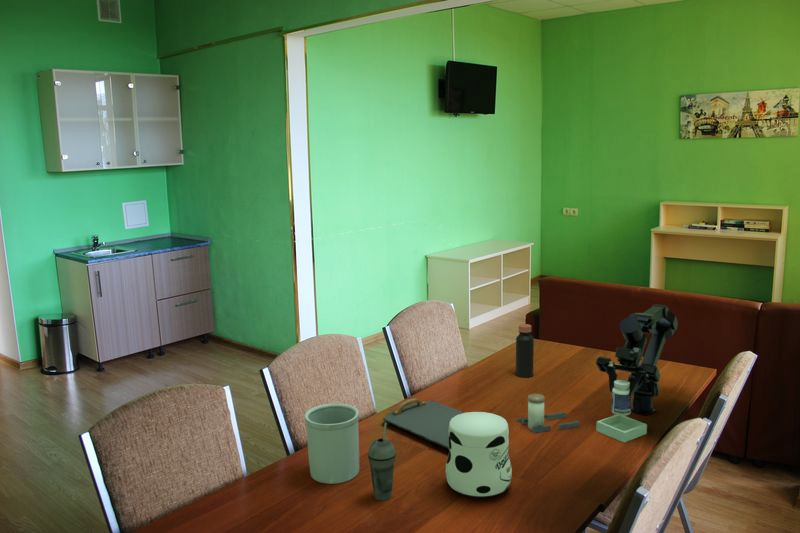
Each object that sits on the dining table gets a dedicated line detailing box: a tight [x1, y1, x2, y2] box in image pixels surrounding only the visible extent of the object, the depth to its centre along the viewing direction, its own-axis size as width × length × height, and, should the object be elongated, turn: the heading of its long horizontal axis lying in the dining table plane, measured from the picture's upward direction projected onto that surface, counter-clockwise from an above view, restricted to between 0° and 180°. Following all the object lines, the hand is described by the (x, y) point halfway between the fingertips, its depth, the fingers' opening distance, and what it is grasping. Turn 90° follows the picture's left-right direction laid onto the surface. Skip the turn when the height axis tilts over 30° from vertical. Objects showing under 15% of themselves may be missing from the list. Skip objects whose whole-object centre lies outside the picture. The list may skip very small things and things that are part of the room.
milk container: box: [445, 411, 513, 499], centre depth 178 cm, size 17×17×18 cm
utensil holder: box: [304, 402, 360, 485], centre depth 188 cm, size 15×15×18 cm
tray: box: [595, 414, 648, 443], centre depth 211 cm, size 11×11×3 cm
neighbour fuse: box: [527, 393, 546, 430], centre depth 216 cm, size 5×5×10 cm
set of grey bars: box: [515, 411, 581, 434], centre depth 219 cm, size 17×11×2 cm, turn 107°
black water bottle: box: [515, 323, 535, 378], centre depth 264 cm, size 7×7×20 cm
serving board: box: [382, 398, 465, 450], centre depth 216 cm, size 39×23×6 cm, turn 41°
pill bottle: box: [611, 379, 632, 416], centre depth 209 cm, size 6×6×10 cm
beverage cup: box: [367, 422, 397, 501], centre depth 174 cm, size 7×7×20 cm
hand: (620, 393), depth 208 cm, fingers closed on pill bottle, 6 cm apart
